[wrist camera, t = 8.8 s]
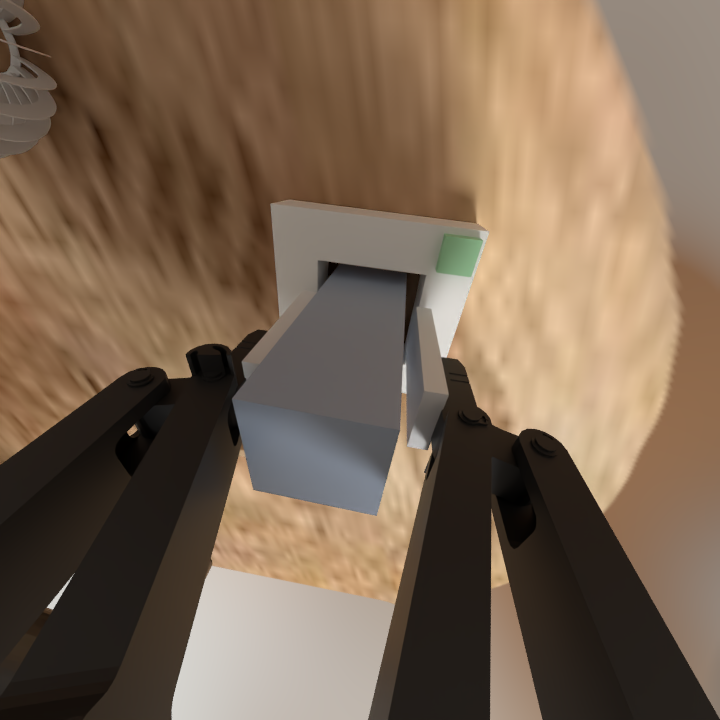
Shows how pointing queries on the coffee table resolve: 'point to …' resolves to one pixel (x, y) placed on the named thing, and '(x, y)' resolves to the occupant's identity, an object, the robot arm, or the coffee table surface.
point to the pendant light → (22, 88)
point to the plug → (330, 395)
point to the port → (378, 255)
